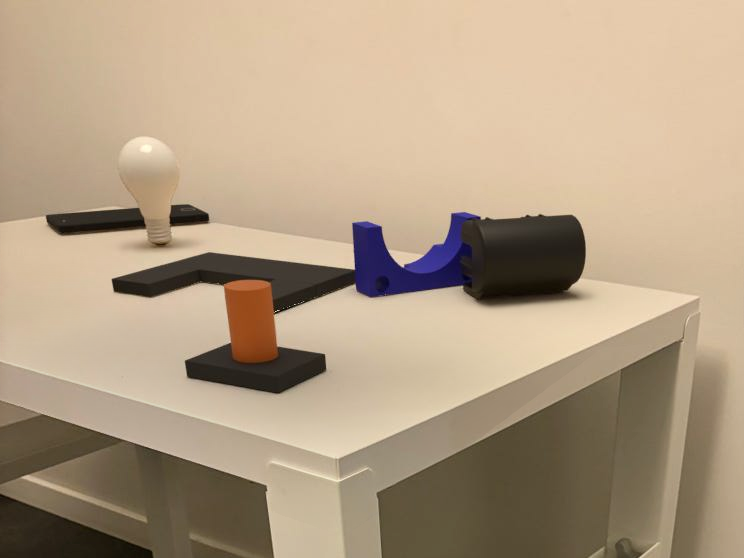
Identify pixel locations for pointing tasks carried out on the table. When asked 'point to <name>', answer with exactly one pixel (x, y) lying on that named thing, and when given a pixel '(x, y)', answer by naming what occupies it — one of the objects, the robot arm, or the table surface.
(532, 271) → the end cap
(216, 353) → the small pad
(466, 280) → the blue pipe cradle
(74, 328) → the table surface
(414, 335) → the table surface
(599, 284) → the table surface
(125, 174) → the lightbulb
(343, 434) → the table surface
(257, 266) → the big pad
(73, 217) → the cell phone
